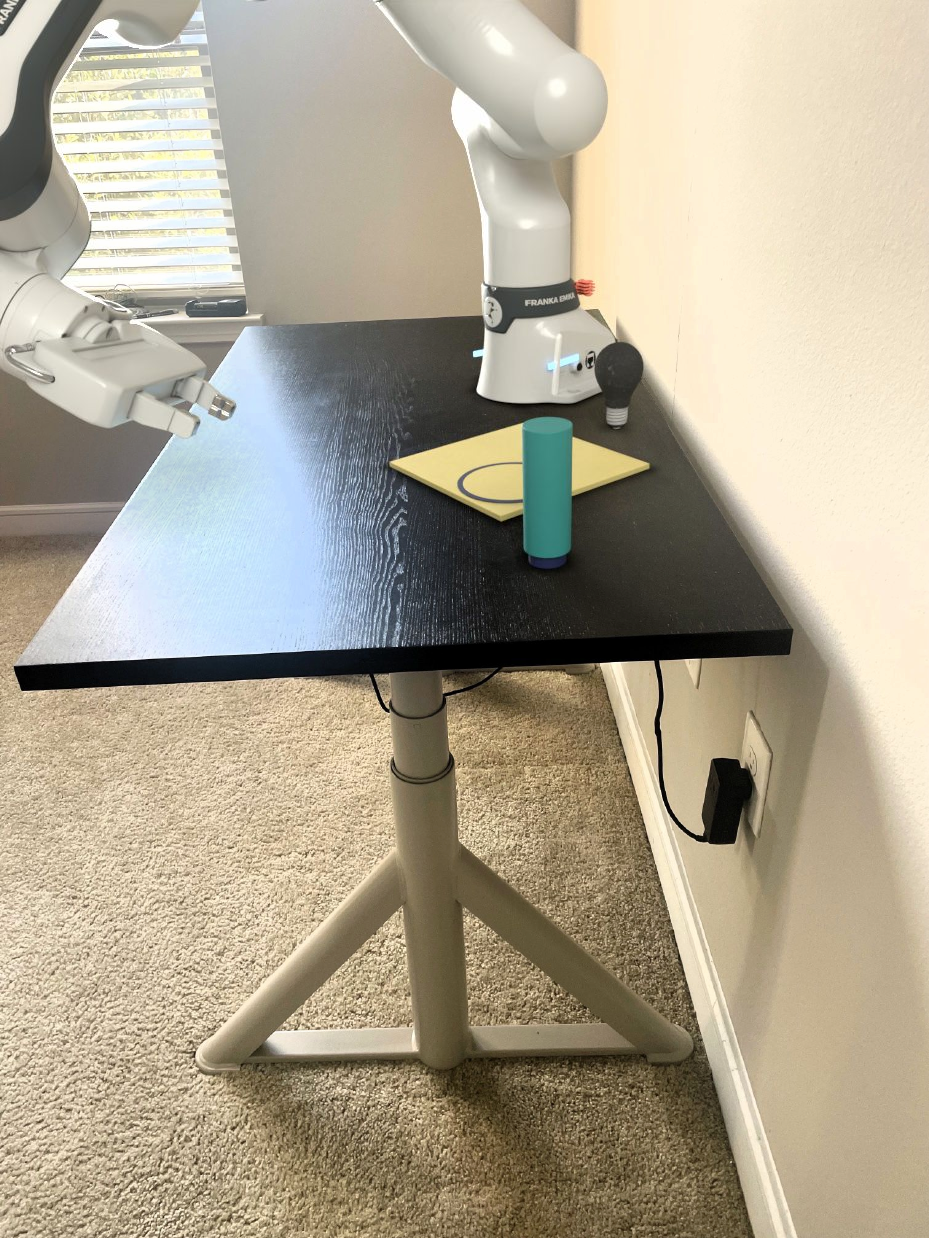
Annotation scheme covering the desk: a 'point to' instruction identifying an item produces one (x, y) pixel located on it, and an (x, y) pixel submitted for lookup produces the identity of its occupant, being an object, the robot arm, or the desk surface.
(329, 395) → the desk surface
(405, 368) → the desk surface
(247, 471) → the desk surface
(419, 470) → the writing pad
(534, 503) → the cylinder
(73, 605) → the desk surface
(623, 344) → the light bulb
